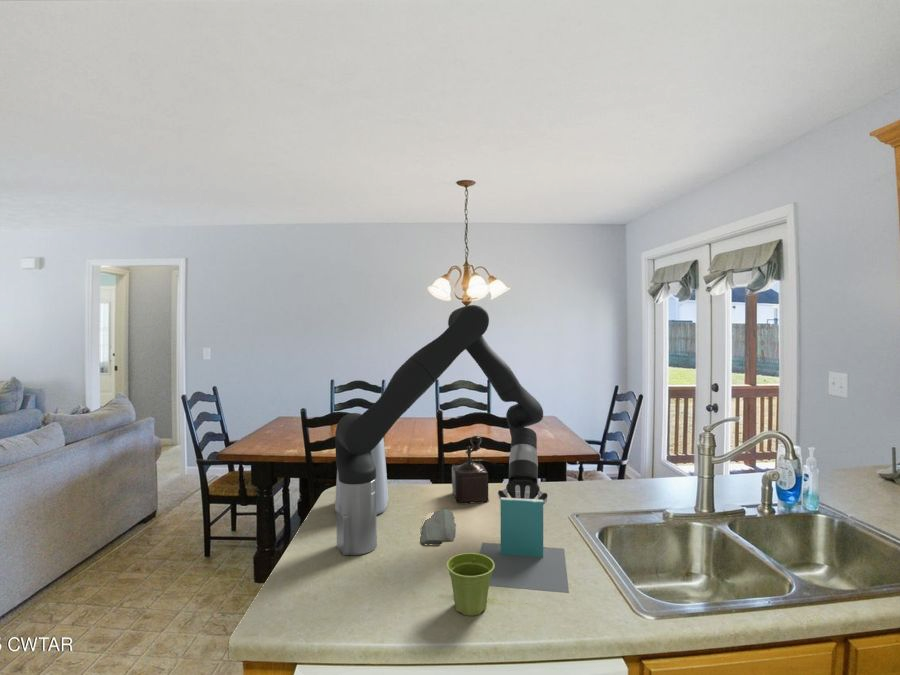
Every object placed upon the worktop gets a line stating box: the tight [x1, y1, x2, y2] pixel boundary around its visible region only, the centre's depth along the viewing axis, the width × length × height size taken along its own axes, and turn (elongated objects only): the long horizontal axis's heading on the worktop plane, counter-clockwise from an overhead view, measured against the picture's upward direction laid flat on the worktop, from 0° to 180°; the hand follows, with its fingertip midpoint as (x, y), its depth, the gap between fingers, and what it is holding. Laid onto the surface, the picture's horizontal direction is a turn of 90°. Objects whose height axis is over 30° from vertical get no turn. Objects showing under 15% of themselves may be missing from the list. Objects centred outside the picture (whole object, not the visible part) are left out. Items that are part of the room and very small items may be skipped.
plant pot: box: [446, 552, 495, 617], centre depth 96 cm, size 9×9×9 cm
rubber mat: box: [479, 542, 570, 594], centre depth 111 cm, size 20×20×1 cm
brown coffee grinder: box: [451, 435, 490, 504], centre depth 160 cm, size 16×11×18 cm
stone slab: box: [420, 508, 457, 545], centre depth 135 cm, size 22×3×10 cm
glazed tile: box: [499, 497, 544, 557], centre depth 117 cm, size 2×10×13 cm, turn 80°
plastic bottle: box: [334, 436, 389, 516], centre depth 149 cm, size 15×15×28 cm
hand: (521, 530), depth 118 cm, fingers closed
